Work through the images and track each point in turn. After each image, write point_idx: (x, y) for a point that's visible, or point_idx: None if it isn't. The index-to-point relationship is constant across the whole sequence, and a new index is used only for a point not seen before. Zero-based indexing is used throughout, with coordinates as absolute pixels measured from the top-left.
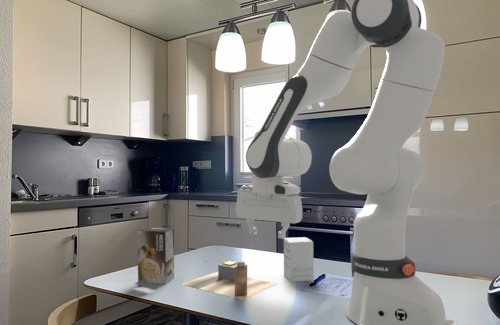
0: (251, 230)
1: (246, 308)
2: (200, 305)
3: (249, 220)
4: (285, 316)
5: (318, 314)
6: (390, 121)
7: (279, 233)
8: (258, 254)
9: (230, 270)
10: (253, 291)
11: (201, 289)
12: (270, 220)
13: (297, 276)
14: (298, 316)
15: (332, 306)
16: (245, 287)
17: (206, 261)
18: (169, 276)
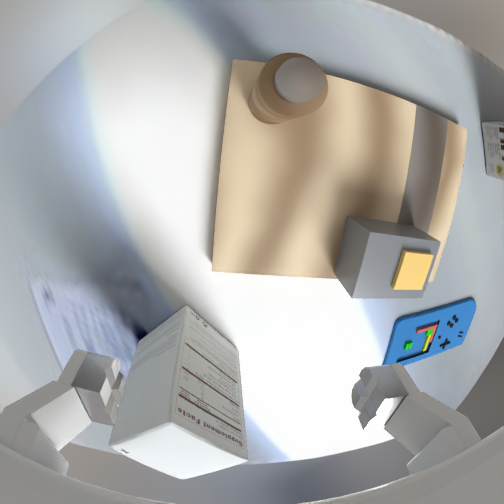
0: (396, 383)
1: (208, 44)
2: (346, 19)
3: (450, 439)
4: (84, 65)
5: (28, 134)
6: None
7: (86, 378)
8: (368, 434)
9: (391, 230)
10: (245, 150)
11: (407, 101)
12: (149, 502)
13: (165, 333)
14: (58, 88)
15: (24, 205)
16: (251, 92)
17: (462, 340)
18: (500, 144)
